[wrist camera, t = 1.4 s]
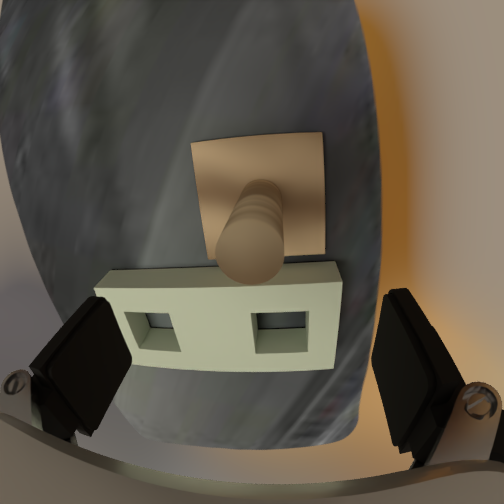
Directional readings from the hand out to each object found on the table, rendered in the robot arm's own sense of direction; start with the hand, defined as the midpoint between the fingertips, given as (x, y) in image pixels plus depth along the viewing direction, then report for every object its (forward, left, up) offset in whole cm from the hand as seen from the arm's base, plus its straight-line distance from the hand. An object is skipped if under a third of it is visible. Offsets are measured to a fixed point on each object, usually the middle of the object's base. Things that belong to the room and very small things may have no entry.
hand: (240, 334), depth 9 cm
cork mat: (0, 0, -15) cm, 15 cm away
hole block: (+11, -5, -15) cm, 19 cm away
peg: (0, 0, -15) cm, 15 cm away
